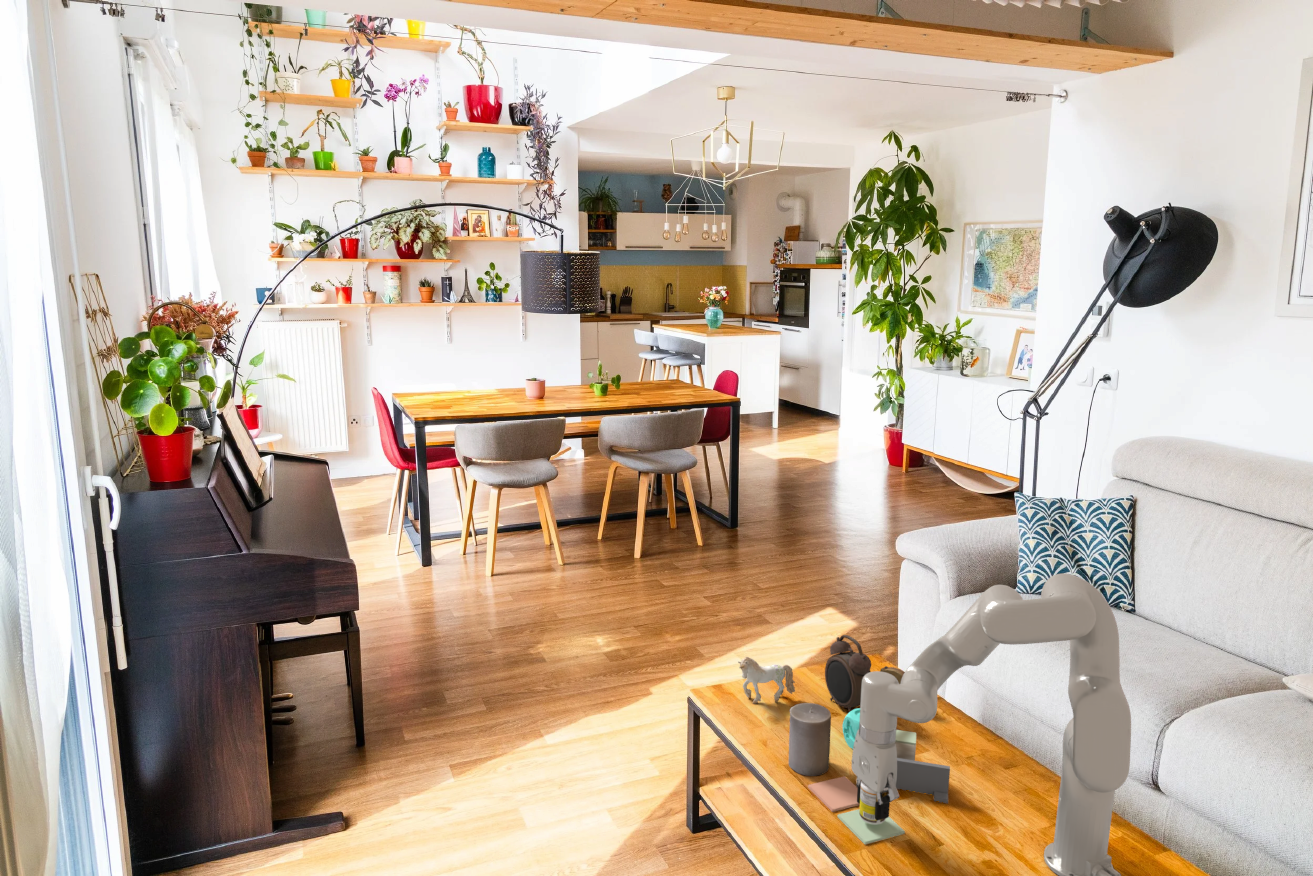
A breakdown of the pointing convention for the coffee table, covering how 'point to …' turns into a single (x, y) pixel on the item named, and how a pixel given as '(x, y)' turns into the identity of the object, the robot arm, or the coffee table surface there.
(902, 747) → the marked post
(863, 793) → the supplement bottle
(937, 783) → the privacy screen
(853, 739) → the decorative dice
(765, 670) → the unicorn figurine
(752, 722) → the coffee table surface
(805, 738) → the pillar candle
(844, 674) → the alarm clock
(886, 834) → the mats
